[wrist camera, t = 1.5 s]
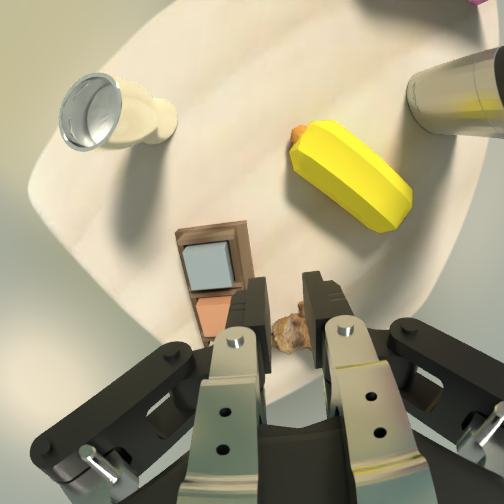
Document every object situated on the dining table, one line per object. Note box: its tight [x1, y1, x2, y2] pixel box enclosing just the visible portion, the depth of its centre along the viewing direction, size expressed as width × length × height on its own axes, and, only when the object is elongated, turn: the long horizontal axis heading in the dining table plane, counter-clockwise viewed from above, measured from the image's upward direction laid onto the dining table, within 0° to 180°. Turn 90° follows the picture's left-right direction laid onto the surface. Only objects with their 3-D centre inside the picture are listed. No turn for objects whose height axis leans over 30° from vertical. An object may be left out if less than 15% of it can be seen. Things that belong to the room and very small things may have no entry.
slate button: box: [182, 240, 234, 290], centre depth 32 cm, size 5×5×3 cm
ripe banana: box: [289, 120, 413, 233], centre depth 29 cm, size 18×7×8 cm
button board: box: [175, 220, 254, 348], centre depth 37 cm, size 9×21×4 cm, turn 8°
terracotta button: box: [196, 295, 233, 337], centre depth 34 cm, size 5×5×3 cm
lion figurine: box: [271, 301, 312, 355], centre depth 36 cm, size 15×5×9 cm, turn 58°
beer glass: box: [59, 73, 178, 152], centre depth 23 cm, size 7×7×15 cm
